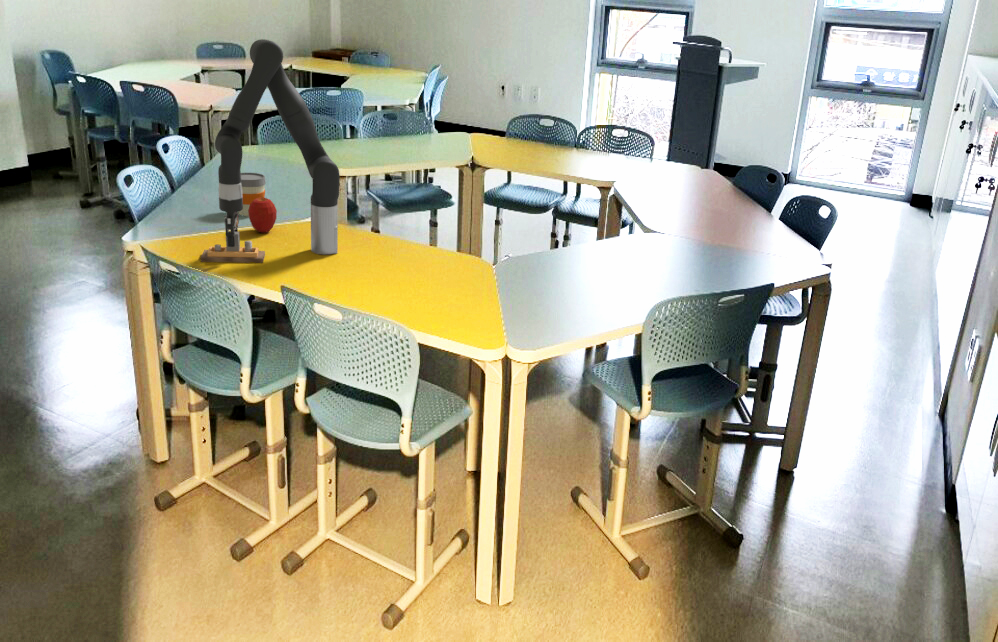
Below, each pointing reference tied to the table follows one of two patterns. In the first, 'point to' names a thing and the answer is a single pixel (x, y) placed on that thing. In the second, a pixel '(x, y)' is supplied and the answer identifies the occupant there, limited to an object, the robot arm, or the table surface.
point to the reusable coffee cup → (251, 189)
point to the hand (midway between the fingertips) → (232, 242)
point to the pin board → (234, 259)
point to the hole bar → (233, 250)
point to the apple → (262, 214)
